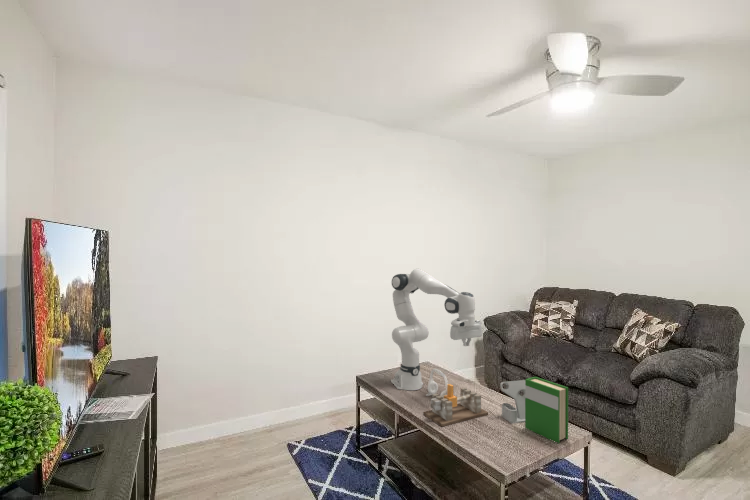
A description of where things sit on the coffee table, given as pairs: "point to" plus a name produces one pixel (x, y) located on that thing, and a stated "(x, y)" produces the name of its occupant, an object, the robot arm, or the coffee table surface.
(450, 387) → the sleeve
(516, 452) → the coffee table surface
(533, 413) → the hardback book
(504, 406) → the phone holder
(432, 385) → the headset
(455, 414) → the cord comb board
